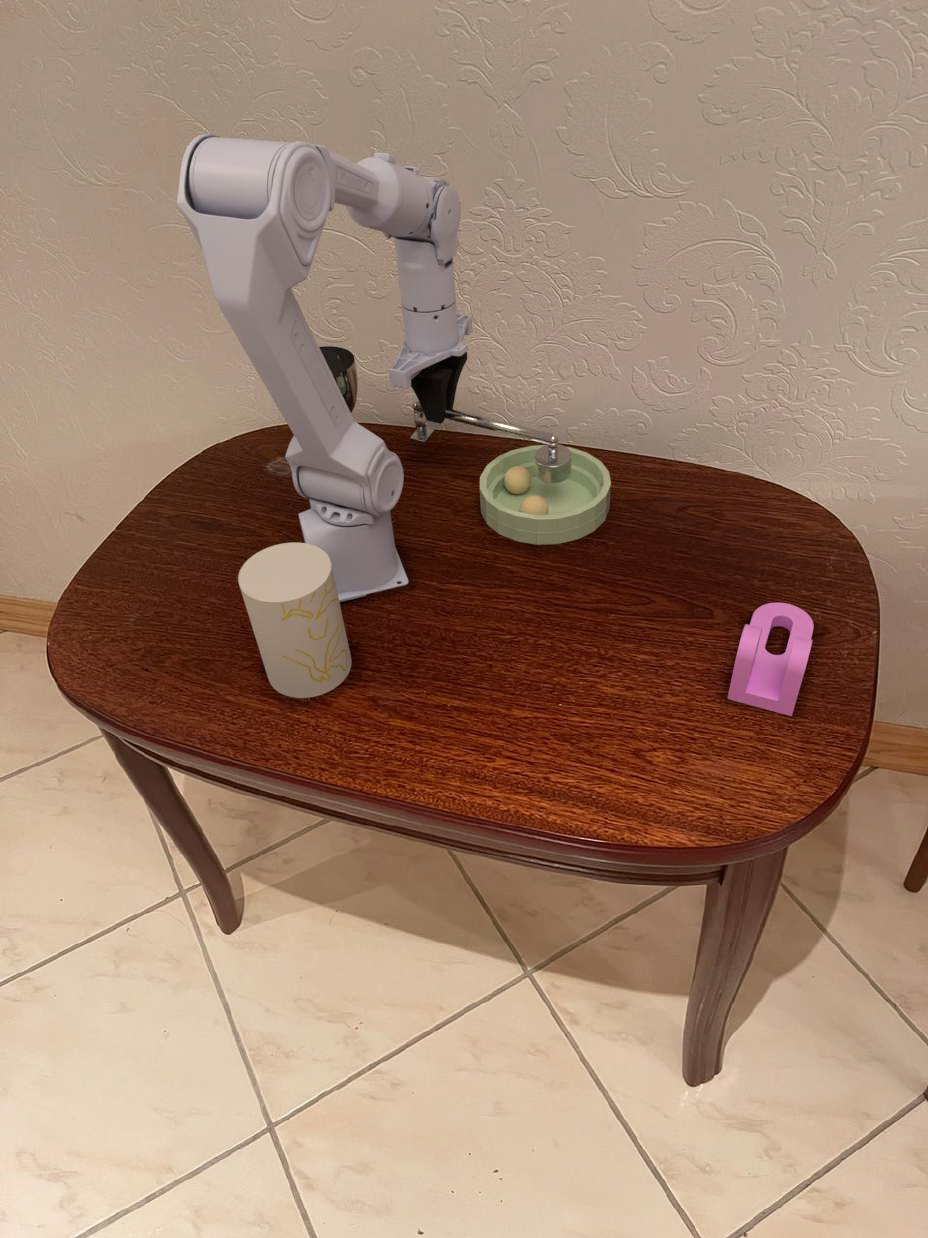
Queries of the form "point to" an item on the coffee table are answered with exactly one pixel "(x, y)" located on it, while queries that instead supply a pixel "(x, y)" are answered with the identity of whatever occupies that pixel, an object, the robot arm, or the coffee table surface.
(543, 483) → the bowl
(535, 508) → the dough ball
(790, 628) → the bracket
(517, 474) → the dough ball
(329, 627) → the cream cylinder
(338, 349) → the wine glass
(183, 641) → the coffee table surface
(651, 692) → the coffee table surface
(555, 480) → the weighted chrome rod
